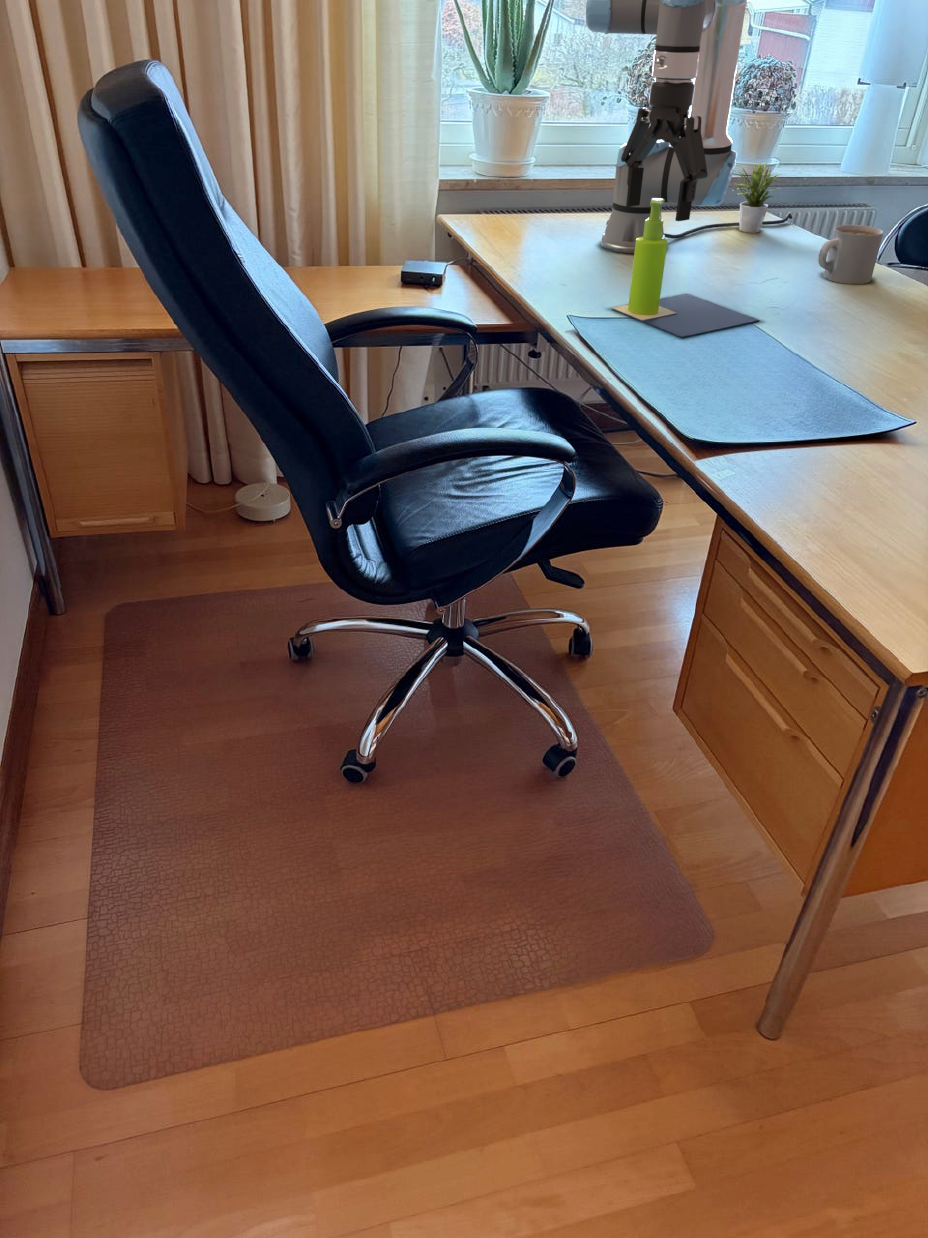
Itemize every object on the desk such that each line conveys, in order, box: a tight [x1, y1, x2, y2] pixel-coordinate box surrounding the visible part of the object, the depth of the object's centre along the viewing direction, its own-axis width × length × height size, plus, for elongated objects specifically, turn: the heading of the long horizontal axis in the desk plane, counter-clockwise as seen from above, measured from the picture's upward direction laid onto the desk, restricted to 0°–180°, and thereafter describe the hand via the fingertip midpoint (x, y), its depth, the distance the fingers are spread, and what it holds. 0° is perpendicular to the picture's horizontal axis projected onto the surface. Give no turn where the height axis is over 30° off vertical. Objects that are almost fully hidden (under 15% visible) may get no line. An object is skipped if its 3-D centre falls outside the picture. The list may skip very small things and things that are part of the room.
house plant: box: [733, 162, 782, 234], centre depth 235 cm, size 14×14×16 cm
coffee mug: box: [817, 224, 884, 285], centre depth 199 cm, size 13×10×10 cm
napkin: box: [611, 293, 760, 339], centre depth 178 cm, size 20×20×1 cm
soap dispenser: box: [627, 198, 668, 315], centre depth 174 cm, size 6×7×20 cm
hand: (656, 212), depth 169 cm, fingers open, 13 cm apart
